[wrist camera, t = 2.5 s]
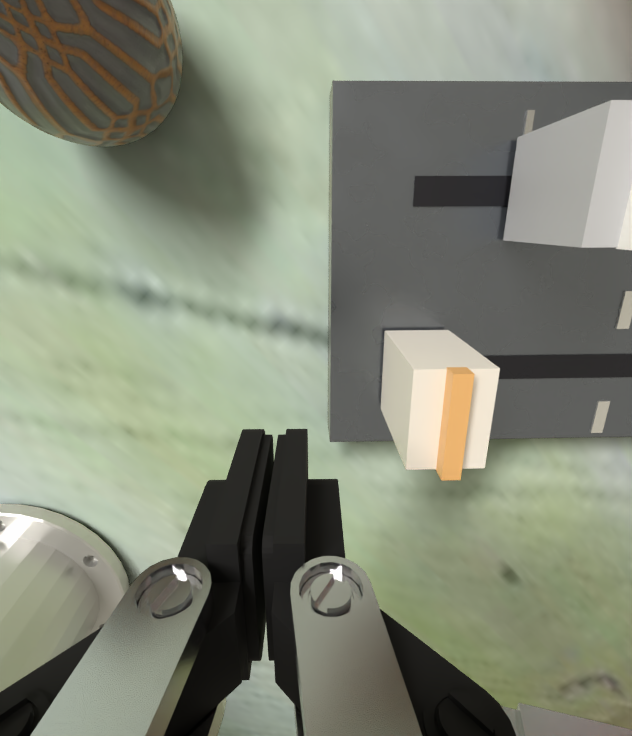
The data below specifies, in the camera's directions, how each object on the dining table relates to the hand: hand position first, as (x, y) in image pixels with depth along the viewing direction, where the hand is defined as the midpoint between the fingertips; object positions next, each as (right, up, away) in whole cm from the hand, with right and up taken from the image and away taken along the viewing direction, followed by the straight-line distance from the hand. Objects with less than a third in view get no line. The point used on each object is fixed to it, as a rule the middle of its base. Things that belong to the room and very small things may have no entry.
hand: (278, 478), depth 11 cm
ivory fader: (+6, +3, +9) cm, 11 cm away
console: (+14, +7, +10) cm, 19 cm away
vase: (-7, +16, +7) cm, 19 cm away
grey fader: (+11, +10, +7) cm, 16 cm away
